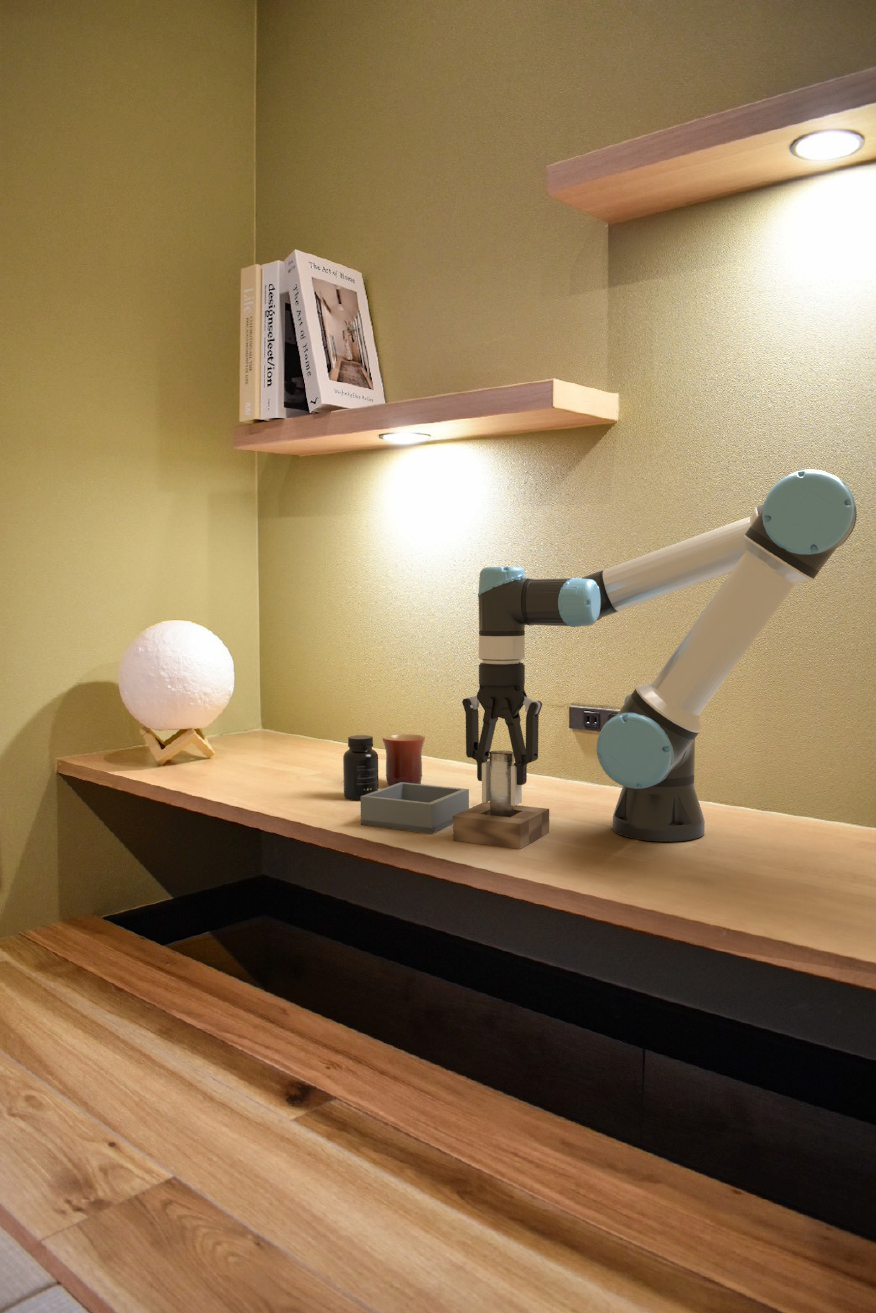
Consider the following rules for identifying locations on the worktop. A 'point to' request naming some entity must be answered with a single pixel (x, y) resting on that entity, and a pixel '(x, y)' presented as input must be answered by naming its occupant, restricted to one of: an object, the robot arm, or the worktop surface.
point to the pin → (501, 783)
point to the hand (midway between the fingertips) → (501, 802)
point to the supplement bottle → (360, 767)
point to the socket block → (501, 826)
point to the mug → (403, 758)
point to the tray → (413, 807)
